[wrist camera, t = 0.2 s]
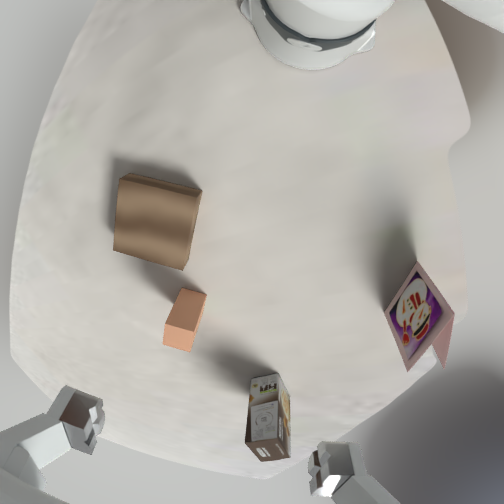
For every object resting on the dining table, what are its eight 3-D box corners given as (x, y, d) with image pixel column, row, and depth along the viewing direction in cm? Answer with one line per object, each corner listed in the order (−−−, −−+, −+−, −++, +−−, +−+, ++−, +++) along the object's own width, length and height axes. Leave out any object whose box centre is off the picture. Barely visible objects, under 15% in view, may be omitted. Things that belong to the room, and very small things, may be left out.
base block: (130, 172, 46) (119, 178, 43) (203, 190, 47) (196, 197, 43) (123, 240, 52) (113, 250, 48) (188, 258, 52) (182, 270, 49)
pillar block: (181, 287, 54) (165, 323, 45) (206, 294, 55) (194, 332, 46) (178, 307, 56) (162, 344, 47) (202, 314, 57) (190, 352, 48)
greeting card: (413, 259, 49) (450, 312, 35) (442, 272, 50) (481, 324, 36) (380, 311, 54) (403, 371, 40) (410, 321, 55) (436, 378, 41)
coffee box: (249, 378, 64) (242, 442, 49) (278, 372, 62) (277, 437, 48) (264, 402, 67) (260, 462, 53) (291, 397, 66) (292, 458, 51)
